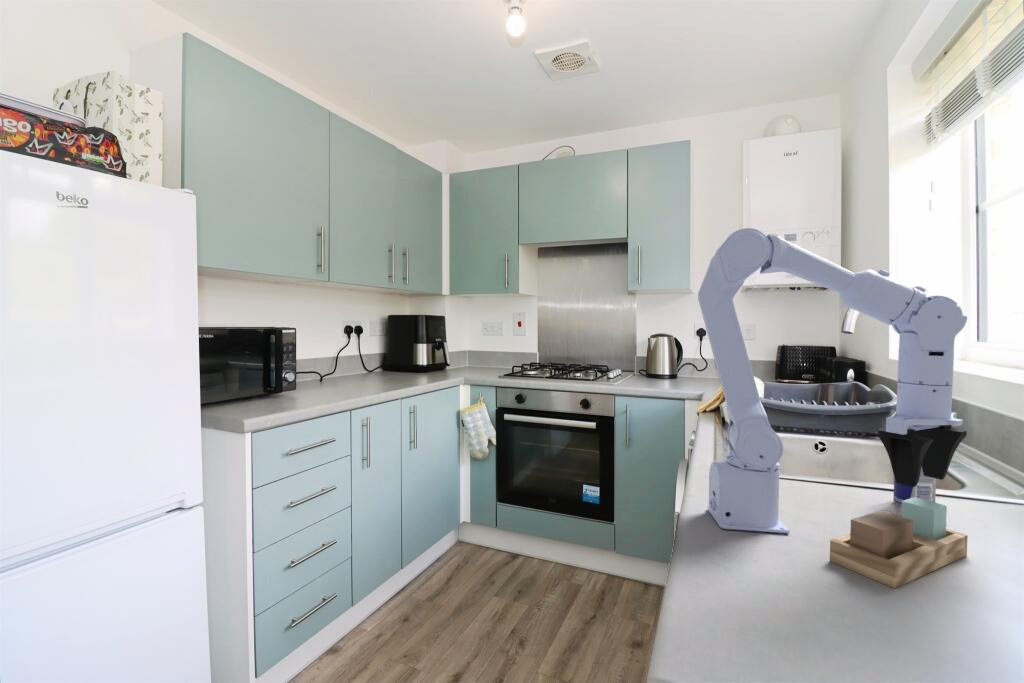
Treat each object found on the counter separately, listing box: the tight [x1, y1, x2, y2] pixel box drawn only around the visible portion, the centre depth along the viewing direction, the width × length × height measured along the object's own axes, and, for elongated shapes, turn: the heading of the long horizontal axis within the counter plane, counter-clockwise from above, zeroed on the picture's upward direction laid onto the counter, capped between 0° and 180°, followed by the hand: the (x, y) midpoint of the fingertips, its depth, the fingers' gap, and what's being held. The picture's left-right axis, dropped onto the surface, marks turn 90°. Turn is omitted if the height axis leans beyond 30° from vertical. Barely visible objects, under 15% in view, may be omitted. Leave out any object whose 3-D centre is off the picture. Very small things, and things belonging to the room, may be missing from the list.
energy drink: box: [893, 467, 937, 507], centre depth 79 cm, size 5×5×12 cm
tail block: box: [900, 497, 948, 541], centre depth 63 cm, size 4×4×5 cm
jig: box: [829, 528, 969, 589], centre depth 60 cm, size 18×7×3 cm, turn 117°
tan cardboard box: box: [849, 509, 913, 560], centre depth 58 cm, size 7×4×4 cm, turn 117°
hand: (920, 481), depth 65 cm, fingers open, 7 cm apart
